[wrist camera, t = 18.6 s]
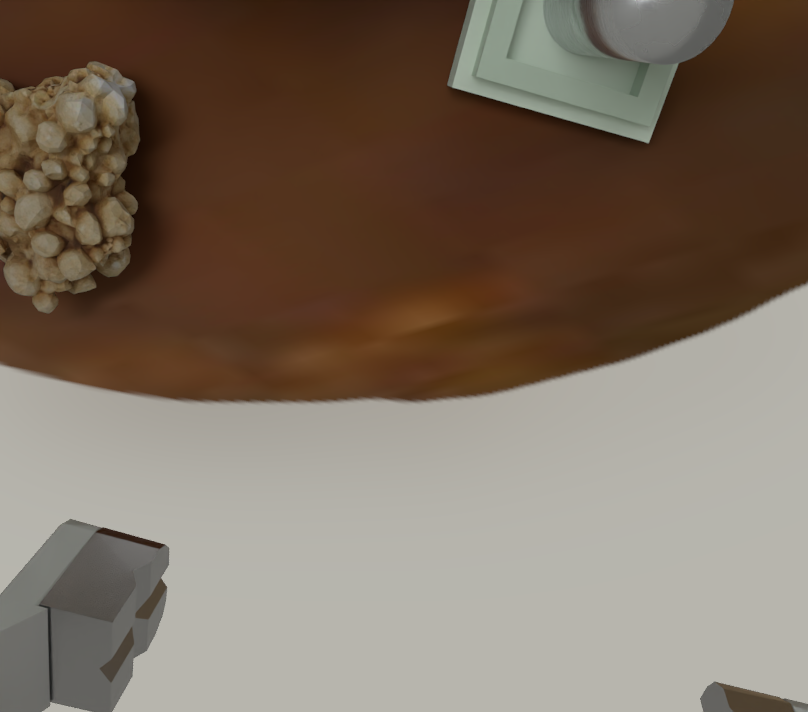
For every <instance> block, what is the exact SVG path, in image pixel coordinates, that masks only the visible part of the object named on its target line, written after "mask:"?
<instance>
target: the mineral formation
mask: <svg viewBox="0 0 808 712" xmlns="http://www.w3.org/2000/svg"><path fill="white" fill-rule="evenodd" d="M136 91H137V90H136V86H135V82H134V81H132V80H130V79H127V78H125V77H122V75H121V74H120V73H119V71H118V70H116V69H114V68H111V67H109V66H107V65H104V64H102V63H99V62H96V61H95V62H89V63H88V65H87V67H86V68H81V69H74V70H71V71H70V73H69V75H68V76H66V77H64V78H63V77H58V76H55V77H50V78H45V79H44V80H43V81H42V83H41V84H39V85H38V86H37V87H31V86H30V87H28V88H22V89H19V90H16V91H15V88H14V87H13V85H12V84H11V83H10V82H8V81H7V80H4V79H1V78H0V259H1V260H2V261H3V262H5V263H6V264H5V266H4V268H3V271H4V276H5V279H6V281H7V283H8V285H9V286H10V288H11V289H12V290H13V291H14V292H15V293H17V294H20V295H24V296H32V301H33V304H34V306H35V307H36V308H37V309H38V311H41V312H44V313H48V314H49V313H50V312H52V311H53V310H54V309H55V308H56V307H57V305H58V298H57V296H56V295H55V291H56V292H62V291H66V290H67V291H69V292H71V293H73V294H76V293H80V292H86V291H89V290H91V289H94V288H96V287H97V286H96V283H95V281H94V279H93V277H92V275H91V274H90V273H91V272H92V271H94V270H95V269H96V270H97V271H98V272H100V273H101V274H103V275H105V276H107V277H114V276H118V275H119V274H120V273H121V272H122V271H123V270H124V269H125V268H126V266H127V265H128V264H129V263H130V257H131V256H130V252H129V248H128V247H129V246H130V245H131V241H132V236H131V233H132V232H133V230H134V219H133V217H132V216H131V215H133V214H135V213H136V211H137V209H138V202H137V201H136V199H135V198H134V196H132V195H131V194H129V193H128V192H126V191H125V190H124V189H125V180H124V179H123V178H122V177H121V176H120V175H121V173H122V172H123V171H124V170H125V168H126V166H127V159H128V156H130V155H133V154H135V152H136V150H137V148H138V144H139V142H140V136H139V119H138V116H137V114H136V111H135V103H134V101H132V99H133V97H134V95H135V93H136Z"/></svg>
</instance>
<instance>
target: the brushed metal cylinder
mask: <svg viewBox="0 0 808 712" xmlns="http://www.w3.org/2000/svg"><path fill="white" fill-rule="evenodd" d="M733 2H734V0H544V1H543V14H544V20H545V24H546V27H547V29H548V31H549V33H550V35H551V37H552V38H553V39H554V41H555V42H556V43H557V44H558V45H559V46H561V47H562V48H563V49H565V50H566V51H568V52H571V53H573V54H578V55H585V56H593V57H601V58H610V59H618V60H626V61H635V62H643V63H651V64H661V65H670V64H676V63H681V62H684V61H687V60H689V59H691V58H693V57H695V56H696V55H698V54H699V53H701V52H702V51H704V50H705V49H706V48H707V47H708V46H709V45H710V44H711V43H712V42H713V41H714V40H715V39H716V38H717V36H718V35H719V34H720V32H721V31H722V29H723V27H724V26H725V24H726V22H727V20H728V18H729V15H730V12H731V9H732V6H733Z"/></svg>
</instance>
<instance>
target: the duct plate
mask: <svg viewBox="0 0 808 712" xmlns="http://www.w3.org/2000/svg"><path fill="white" fill-rule="evenodd" d="M543 1H544V0H470V2H469V6H468V10H467V13H466V17H465V21H464V24H463V28H462V32H461V35H460V39H459V43H458V47H457V50H456V54H455V58H454V61H453V65H452V69H451V72H450V76H449V80H448V83H447V86H450V87H453V88H456V89H460V90H463V91H467V92H470V93H474V94H477V95H481V96H484V97H488V98H491V99H495V100H498V101H502V102H505V103H509V104H512V105H516V106H520V107H523V108H527V109H530V110H534V111H537V112H541V113H544V114H548V115H551V116H555V117H558V118H562V119H565V120H569V121H572V122H576V123H579V124H583V125H586V126H590V127H593V128H597V129H600V130H604V131H608V132H611V133H615V134H618V135H622V136H625V137H629V138H632V139H636V140H639V141H643V142H646V143H649V141H650V138H651V136H652V133H653V130H654V128H655V125H656V122H657V120H658V117H659V114H660V112H661V109H662V106H663V104H664V101H665V98H666V96H667V93H668V90H669V88H670V85H671V82H672V80H673V77H674V74H675V72H676V69H677V66H678V64H679V63H676V64H670V65H661V64H651V63H643V62H635V61H626V60H618V59H610V58H601V57H593V56H585V55H578V54H573V53H571V52H568V51H566V50H565V49H563V48H562V47H561V46H559V45H558V44H557V43H556V42H555V41H554V39H553V38H552V37H551V35H550V33H549V31H548V29H547V27H546V24H545V20H544V14H543Z"/></svg>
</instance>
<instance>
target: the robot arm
mask: <svg viewBox="0 0 808 712" xmlns="http://www.w3.org/2000/svg"><path fill="white" fill-rule="evenodd" d="M168 565H169V547H167V546H166V545H165V544H161V543H157V542H154V541H150V540H146V539H143V538H139V537H135V536H132V535H129V534H125V533H121V532H118V531H113V530H110V529H107V528H100V527H97V526H93V525H90V524H86V523H83V522H79V521H76V520H72V519H70V520H68V521H66V522H65V523H63V524H61V525H60V526H59V527H58V528H57V529H56V530H55V532H54V533H53V534H52V535H51V536H50V538H49V539H48V540H47V541H46V542H45V543H44V544H43V546H42V547H41V548H40V549H39V550H38V551H37V553H36V554H35V555H34V556H33V557H32V558H31V560H30V561H29V562H28V563H27V564H26V565H25V567H24V568H23V569H22V570H21V571H20V572H19V574H18V575H17V576H16V577H15V578H14V579H13V580H12V582H11V583H10V584H9V585H8V587H6V589H5V590H4V591H3V592H2V593H1V595H0V712H42V711H43V710H45V709H46V708H48V707H49V706H50V702H53V703H57V704H61V705H66V706H71V707H74V708H79V709H83V710H88V711H92V712H112V711H113V709H114V708H115V706H116V704H117V702H118V700H119V699H120V697H121V695H122V693H123V692H124V690H125V688H126V686H127V685H128V683H129V681H130V679H131V677H132V672H133V658H135V657H136V656H138V655H140V654H142V653H144V652H145V651H147V649H148V647H149V645H150V643H151V641H152V640H153V637H154V636H155V634H156V631H157V629H158V626H159V623H160V621H161V618H162V615H163V611H164V606H165V602H166V593H167V586H166V585H165V583H164V582H163V580H162V579H161V577H162V575H163V574H164V572H165V570H166V569H167V567H168ZM700 700H701V704H702V708H703V711H704V712H808V704H805V703H801V702H797V701H793V700H788V699H781V698H780V697H776V696H771V695H768V694H764V693H759V692H755V691H751V690H747V689H743V688H739V687H734V686H730V685H726V684H721V683H718V682H714V683H712V684H711V685H709V686H708V687H707V688H706V690H705V691H704V693H703V695H702V696H701V698H700Z"/></svg>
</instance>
